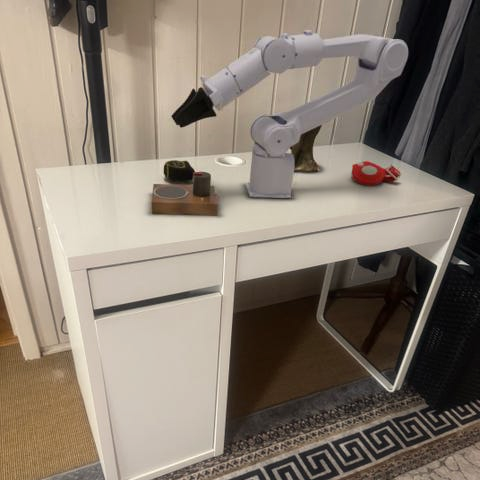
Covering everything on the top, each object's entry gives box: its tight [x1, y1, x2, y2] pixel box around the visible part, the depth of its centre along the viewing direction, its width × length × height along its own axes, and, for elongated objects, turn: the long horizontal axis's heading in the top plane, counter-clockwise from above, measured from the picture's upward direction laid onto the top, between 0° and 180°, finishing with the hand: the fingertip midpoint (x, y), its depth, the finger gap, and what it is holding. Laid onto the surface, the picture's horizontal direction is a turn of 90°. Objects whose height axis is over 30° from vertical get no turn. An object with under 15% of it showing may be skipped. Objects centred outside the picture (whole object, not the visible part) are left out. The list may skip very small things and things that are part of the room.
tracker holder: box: [351, 160, 402, 186], centre depth 119 cm, size 12×4×10 cm
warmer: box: [151, 183, 221, 216], centre depth 96 cm, size 14×10×3 cm
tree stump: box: [289, 124, 323, 172], centre depth 120 cm, size 10×10×13 cm
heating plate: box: [154, 186, 188, 199], centre depth 95 cm, size 7×7×1 cm
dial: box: [192, 171, 212, 197], centre depth 95 cm, size 4×4×4 cm
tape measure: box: [163, 159, 196, 183], centre depth 108 cm, size 7×7×4 cm
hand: (175, 121), depth 92 cm, fingers open, 7 cm apart
